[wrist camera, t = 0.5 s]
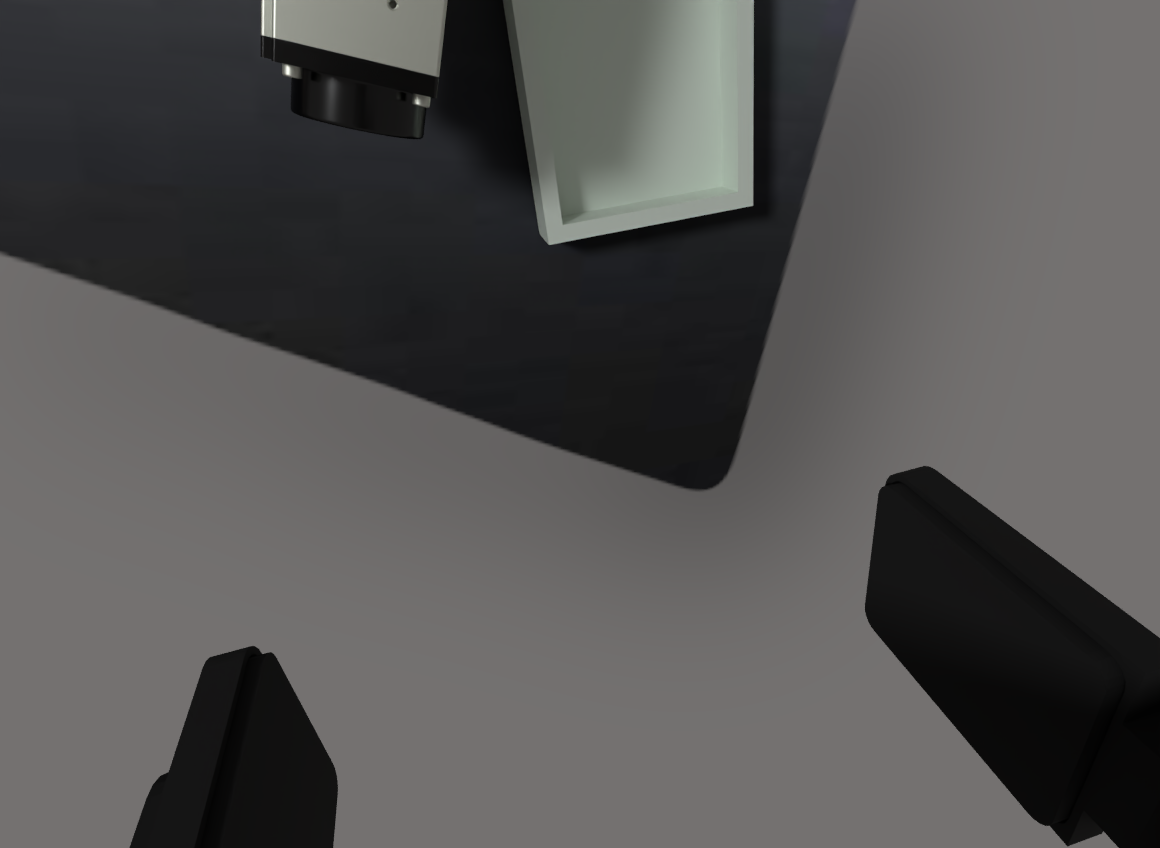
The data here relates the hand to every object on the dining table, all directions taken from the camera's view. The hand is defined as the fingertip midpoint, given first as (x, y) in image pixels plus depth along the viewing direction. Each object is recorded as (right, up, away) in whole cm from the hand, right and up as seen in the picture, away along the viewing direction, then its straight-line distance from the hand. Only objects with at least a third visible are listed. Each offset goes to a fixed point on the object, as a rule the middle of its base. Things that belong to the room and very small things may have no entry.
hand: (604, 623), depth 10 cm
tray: (+2, +21, +20) cm, 29 cm away
